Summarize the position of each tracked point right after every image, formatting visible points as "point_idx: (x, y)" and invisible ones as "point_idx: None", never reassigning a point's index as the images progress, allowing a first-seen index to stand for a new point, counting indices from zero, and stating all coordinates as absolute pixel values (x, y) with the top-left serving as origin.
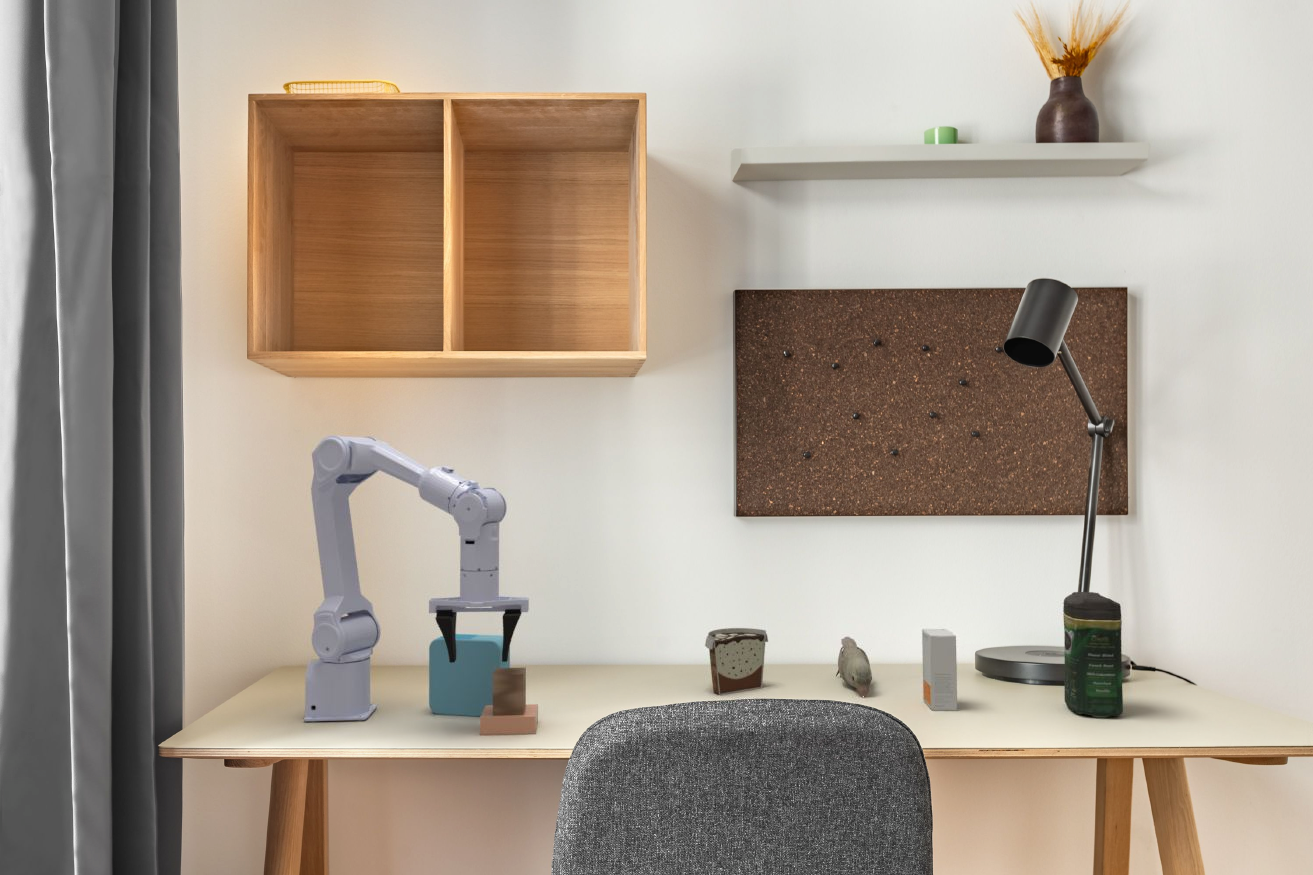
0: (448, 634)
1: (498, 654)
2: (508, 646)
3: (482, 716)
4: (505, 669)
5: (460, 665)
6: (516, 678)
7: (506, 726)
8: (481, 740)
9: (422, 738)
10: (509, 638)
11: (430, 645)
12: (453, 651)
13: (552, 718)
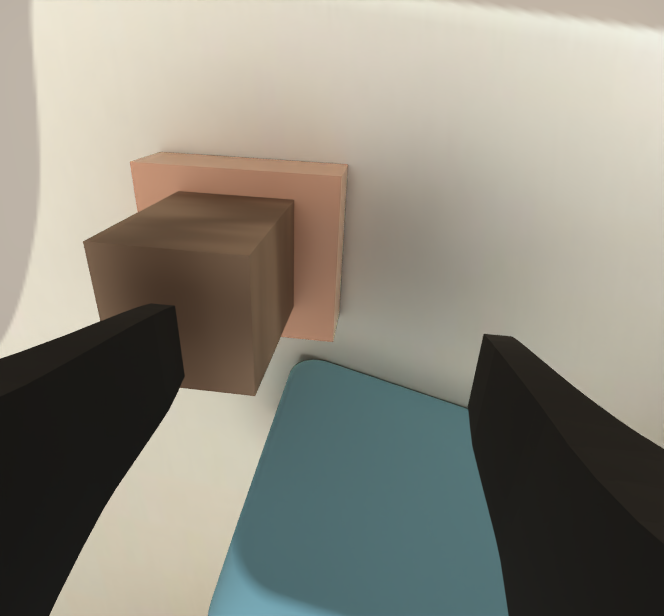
0: (617, 453)
1: (248, 517)
2: (67, 335)
3: (333, 194)
4: (202, 358)
5: (431, 524)
6: (132, 237)
7: (248, 162)
8: (338, 92)
9: (558, 154)
10: (4, 359)
11: None
12: (507, 361)
13: None
